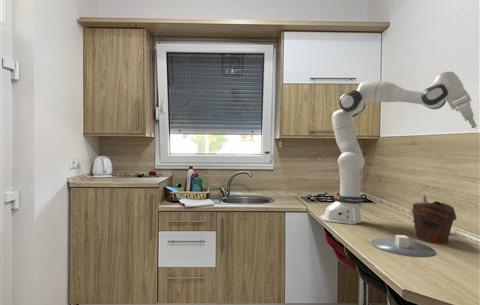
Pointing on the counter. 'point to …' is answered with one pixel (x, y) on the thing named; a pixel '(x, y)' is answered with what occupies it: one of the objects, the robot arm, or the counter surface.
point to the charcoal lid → (403, 246)
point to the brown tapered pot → (433, 221)
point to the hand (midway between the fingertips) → (475, 128)
